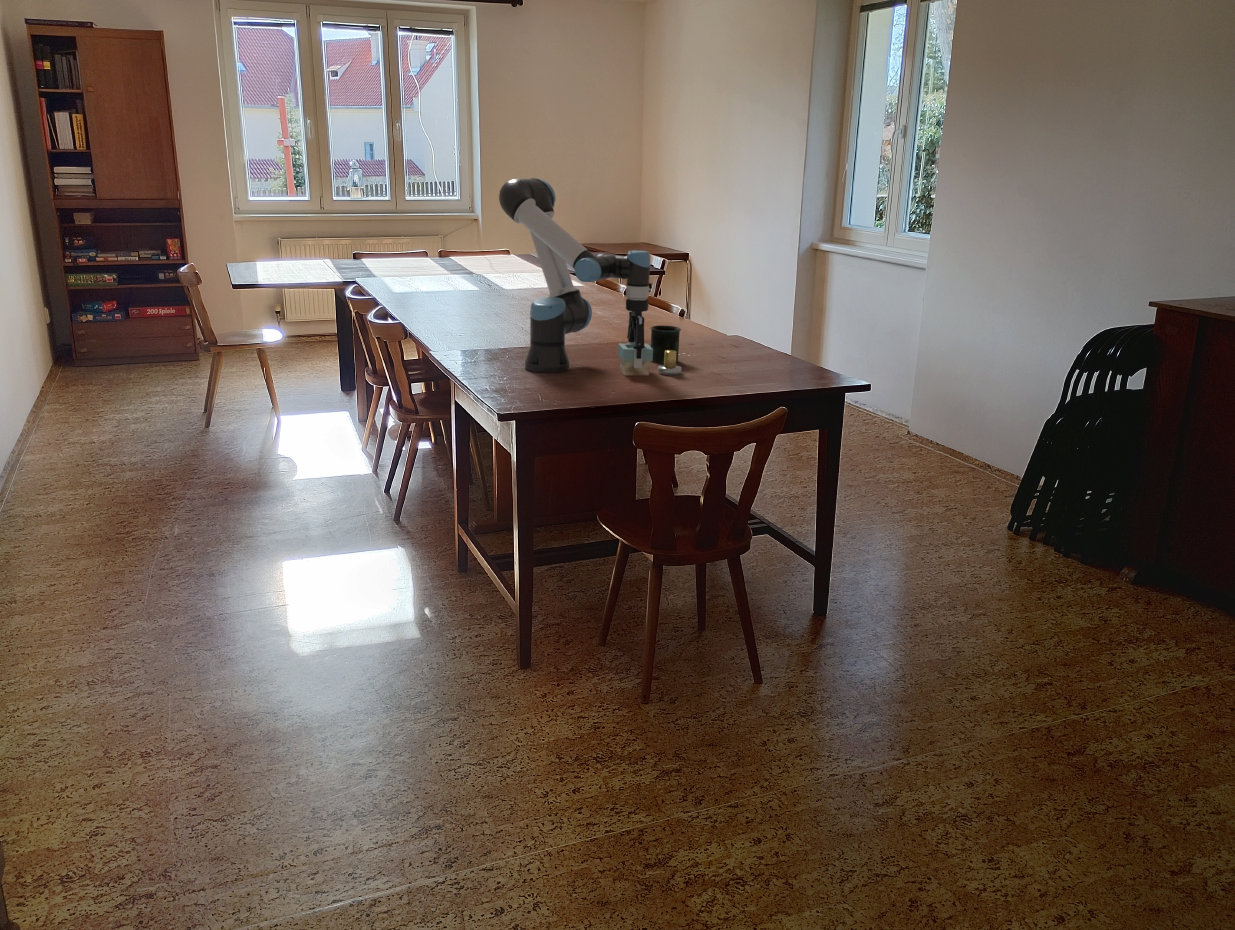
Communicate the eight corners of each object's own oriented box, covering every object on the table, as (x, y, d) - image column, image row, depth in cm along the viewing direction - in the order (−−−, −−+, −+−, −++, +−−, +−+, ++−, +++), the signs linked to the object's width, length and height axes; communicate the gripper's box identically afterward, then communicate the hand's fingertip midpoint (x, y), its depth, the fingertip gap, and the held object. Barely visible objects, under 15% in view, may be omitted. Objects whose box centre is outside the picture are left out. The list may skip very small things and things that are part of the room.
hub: (660, 375, 317) (661, 353, 315) (655, 370, 325) (656, 349, 323) (683, 375, 319) (684, 353, 316) (678, 370, 326) (679, 348, 324)
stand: (624, 375, 316) (625, 353, 314) (620, 369, 324) (620, 348, 322) (649, 375, 318) (650, 353, 315) (644, 369, 325) (644, 348, 323)
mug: (658, 365, 333) (659, 331, 330) (639, 357, 346) (640, 324, 342) (684, 363, 338) (686, 330, 334) (665, 355, 350) (666, 323, 347)
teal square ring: (623, 361, 314) (623, 349, 312) (617, 355, 323) (618, 343, 322) (652, 361, 315) (653, 349, 314) (646, 355, 325) (646, 343, 323)
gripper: (655, 303, 303) (652, 371, 310) (641, 293, 324) (639, 357, 331) (632, 303, 302) (630, 371, 309) (620, 293, 323) (618, 357, 330)
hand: (634, 364), depth 320 cm, fingers closed on teal square ring, 10 cm apart
